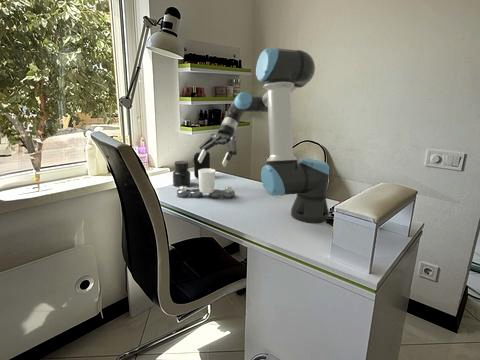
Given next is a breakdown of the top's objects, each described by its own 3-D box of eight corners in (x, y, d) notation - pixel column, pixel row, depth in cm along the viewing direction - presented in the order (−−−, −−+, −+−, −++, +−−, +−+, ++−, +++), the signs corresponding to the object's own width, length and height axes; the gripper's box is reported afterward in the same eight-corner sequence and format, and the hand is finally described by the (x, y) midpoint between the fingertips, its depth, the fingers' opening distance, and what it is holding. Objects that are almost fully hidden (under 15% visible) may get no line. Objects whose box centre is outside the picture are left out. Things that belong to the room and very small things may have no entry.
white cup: (196, 193, 147) (195, 171, 144) (201, 188, 154) (201, 167, 152) (212, 194, 145) (212, 173, 143) (217, 189, 153) (217, 169, 150)
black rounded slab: (194, 179, 177) (194, 153, 173) (191, 178, 179) (191, 152, 175) (210, 177, 183) (211, 151, 179) (208, 175, 186) (208, 150, 181)
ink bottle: (186, 181, 174) (185, 159, 170) (194, 185, 167) (193, 162, 164) (169, 183, 168) (168, 161, 165) (176, 188, 161) (176, 165, 158)
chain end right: (234, 198, 148) (234, 189, 147) (208, 198, 148) (208, 189, 147) (234, 194, 154) (234, 185, 153) (209, 194, 154) (209, 185, 152)
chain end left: (202, 198, 148) (202, 188, 146) (176, 197, 147) (175, 188, 146) (203, 194, 153) (203, 185, 152) (178, 193, 153) (177, 184, 152)
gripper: (252, 135, 157) (236, 171, 149) (209, 131, 169) (193, 164, 160) (247, 125, 151) (231, 162, 143) (204, 121, 163) (186, 155, 154)
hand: (211, 163), depth 151 cm, fingers open, 13 cm apart
